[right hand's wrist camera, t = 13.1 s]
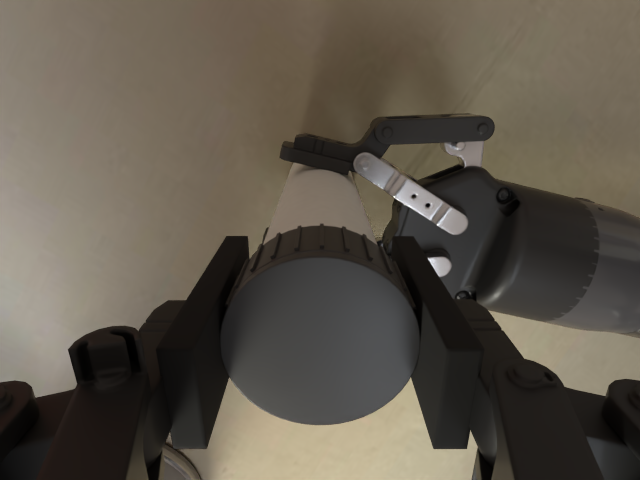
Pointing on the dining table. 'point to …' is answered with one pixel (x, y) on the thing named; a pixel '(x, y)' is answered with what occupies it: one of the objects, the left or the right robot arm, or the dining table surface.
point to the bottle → (319, 202)
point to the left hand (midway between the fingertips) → (274, 195)
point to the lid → (320, 327)
